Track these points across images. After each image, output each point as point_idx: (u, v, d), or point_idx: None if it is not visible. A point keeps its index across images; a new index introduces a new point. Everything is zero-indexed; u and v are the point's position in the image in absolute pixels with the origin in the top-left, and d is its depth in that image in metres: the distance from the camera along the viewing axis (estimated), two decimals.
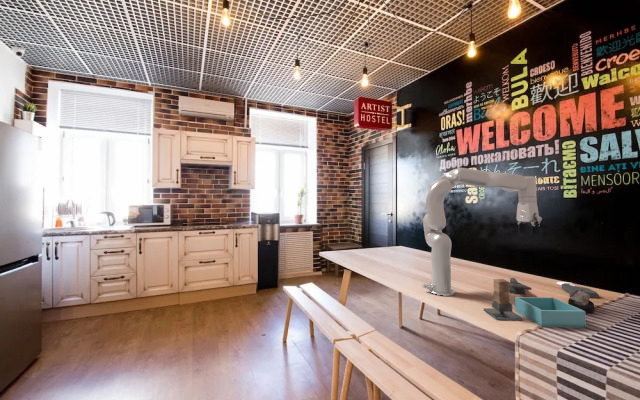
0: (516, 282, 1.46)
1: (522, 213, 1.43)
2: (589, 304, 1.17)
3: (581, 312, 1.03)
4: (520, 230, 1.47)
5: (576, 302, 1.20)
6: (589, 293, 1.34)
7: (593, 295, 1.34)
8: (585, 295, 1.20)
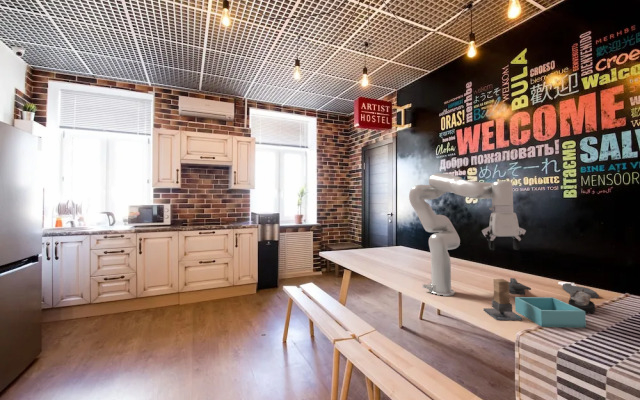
0: (516, 282, 1.46)
1: (507, 226, 1.16)
2: (590, 304, 1.17)
3: (581, 312, 1.03)
4: None
5: (576, 302, 1.19)
6: (589, 293, 1.34)
7: (593, 295, 1.34)
8: (586, 295, 1.20)
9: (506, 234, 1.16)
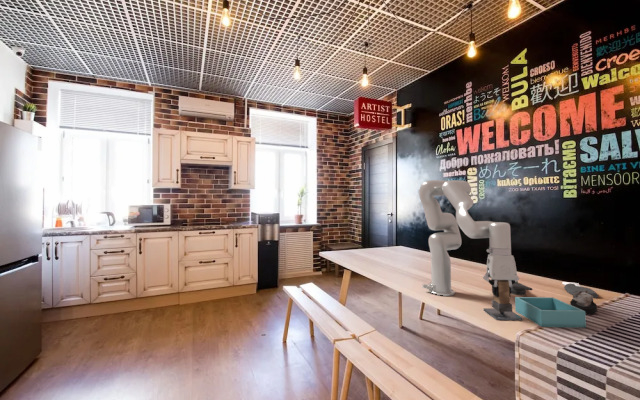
0: (516, 282, 1.45)
1: (504, 269, 1.13)
2: (591, 305, 1.16)
3: (581, 312, 1.03)
4: None
5: (578, 303, 1.19)
6: None
7: (592, 295, 1.34)
8: (588, 296, 1.19)
9: (504, 278, 1.13)
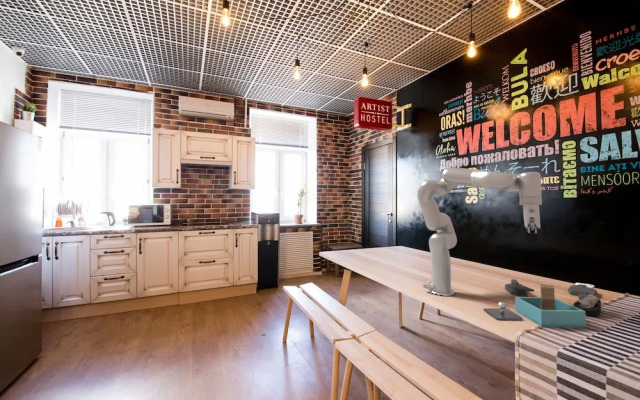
0: (517, 284, 1.43)
1: None
2: (594, 307, 1.13)
3: (581, 312, 1.03)
4: None
5: (581, 305, 1.17)
6: (584, 292, 1.36)
7: None
8: (593, 299, 1.16)
9: None
